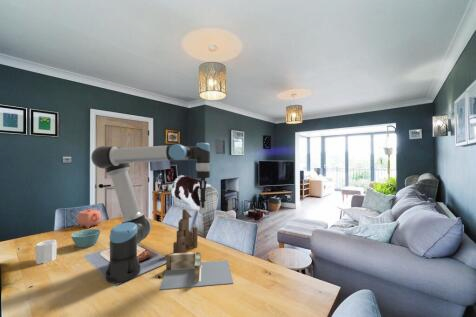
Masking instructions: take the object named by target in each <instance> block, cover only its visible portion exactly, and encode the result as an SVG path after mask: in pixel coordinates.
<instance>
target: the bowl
mask: <svg viewBox="0 0 476 317" xmlns="http://www.w3.org/2000/svg"><path fill="white" fill-rule="evenodd" d="M101 231H102V230H101V229H99V228H87V229H84V230H80V231H77V232H76V231H75V232H74V233H72V234H71V235H70V237H71V239H72V241H73V243H74V245H75V247H77V248H78V249H83V248H84V249H85V248H88V247H89V248H90V247H92V246H94V245H95V244H96V243H97V242H98V239H99V237H100V234H101Z"/></svg>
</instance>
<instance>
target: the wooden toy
mask: <svg viewBox="0 0 476 317" xmlns="http://www.w3.org/2000/svg"><path fill="white" fill-rule="evenodd" d="M181 215H182V218H181V219H179V221H178V225H177V226H178V227H177V229H178V230H176V241H174V242H173V245H172V246H173V247H172V248H173V250H172V251H173V253H186V249H190V248H193V249H194V248H195V249H196V248H198V238H199V237H198V230H199V228H198V226H193V227H192V229H191V230H192V231H190V218H192V215H191V214H190V213H189V211H187V209H182V213H181ZM173 253H172V254H173Z"/></svg>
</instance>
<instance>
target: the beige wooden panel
mask: <svg viewBox="0 0 476 317" xmlns="http://www.w3.org/2000/svg"><path fill="white" fill-rule="evenodd" d="M196 254H201V256H202V252H201V251H197V252H195V251H193V252H192V251H191V252H185V253H167V254H166V259H165V260H166V262H165V263H166V264H165V267H166V268H165V271H166V270H171V269H181V268H194V267H195V259H196ZM201 256H200V267H201V262H202V257H201Z"/></svg>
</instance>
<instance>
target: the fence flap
mask: <svg viewBox="0 0 476 317" xmlns="http://www.w3.org/2000/svg"><path fill="white" fill-rule="evenodd" d="M200 256H202V253H201V254H196V253H195V267H194V268H195V281H199V276H200Z"/></svg>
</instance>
